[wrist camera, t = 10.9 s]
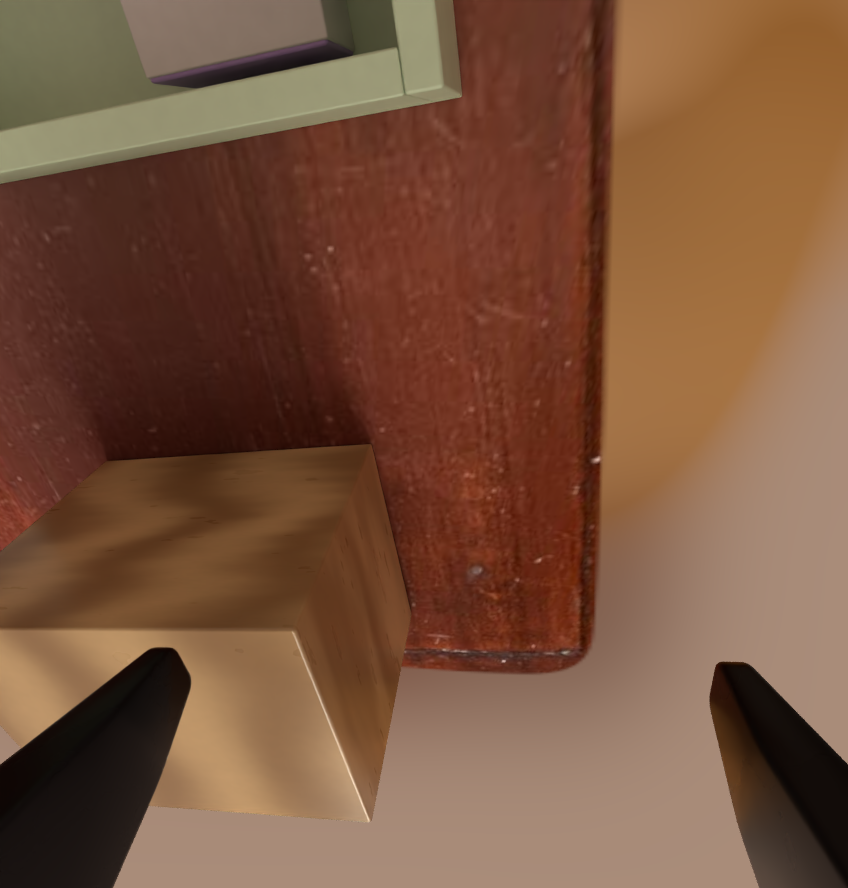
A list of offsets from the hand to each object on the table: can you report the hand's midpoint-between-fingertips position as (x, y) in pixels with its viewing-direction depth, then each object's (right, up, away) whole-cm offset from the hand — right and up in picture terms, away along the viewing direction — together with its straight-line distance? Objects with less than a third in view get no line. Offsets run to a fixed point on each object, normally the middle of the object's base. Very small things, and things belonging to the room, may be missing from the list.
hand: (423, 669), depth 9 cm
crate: (-7, -1, +16) cm, 17 cm away
